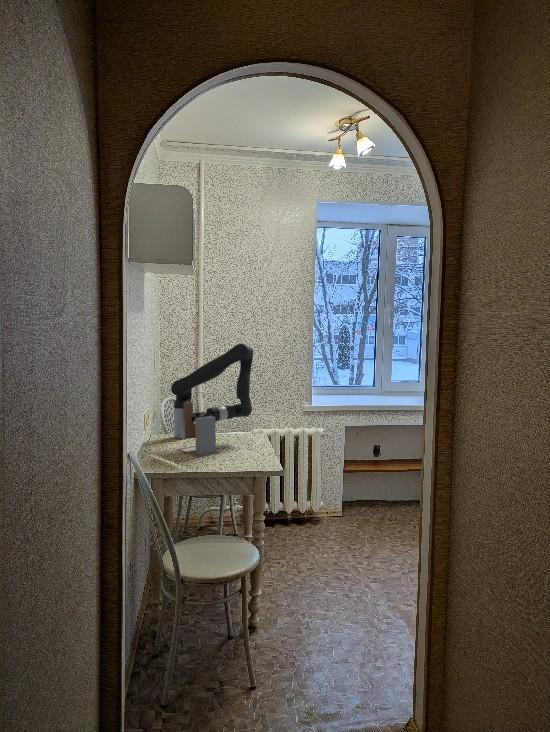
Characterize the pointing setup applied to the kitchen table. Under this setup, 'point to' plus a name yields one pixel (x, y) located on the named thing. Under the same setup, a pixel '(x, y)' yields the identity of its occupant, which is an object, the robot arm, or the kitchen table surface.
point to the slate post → (205, 435)
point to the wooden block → (189, 420)
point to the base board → (194, 451)
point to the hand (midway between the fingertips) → (188, 418)
